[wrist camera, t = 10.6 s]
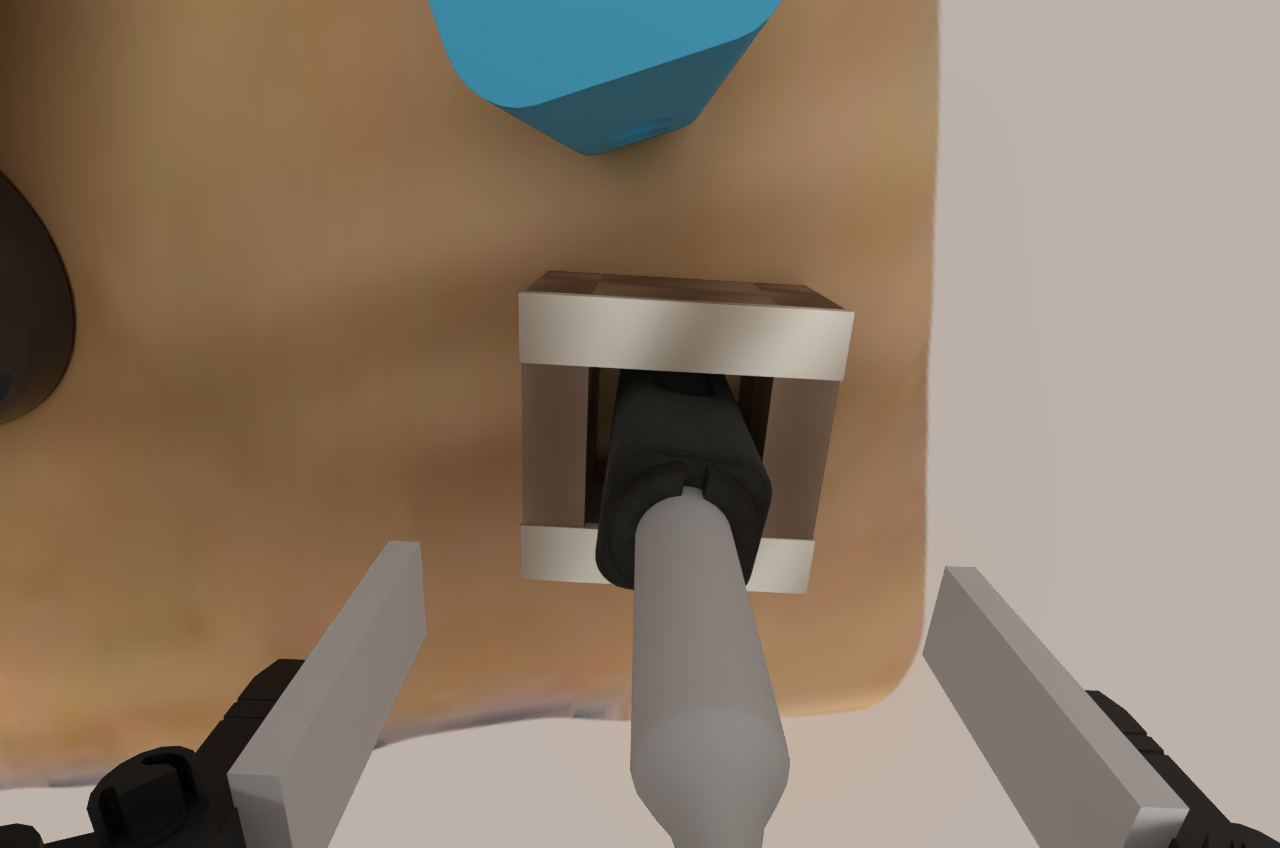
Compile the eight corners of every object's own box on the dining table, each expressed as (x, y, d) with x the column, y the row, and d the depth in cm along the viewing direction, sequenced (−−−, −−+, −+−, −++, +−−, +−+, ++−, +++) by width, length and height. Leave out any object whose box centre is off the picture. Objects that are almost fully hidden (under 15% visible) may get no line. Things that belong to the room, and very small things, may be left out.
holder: (545, 502, 34) (521, 579, 27) (546, 269, 30) (518, 292, 23) (774, 514, 34) (806, 594, 27) (807, 284, 30) (854, 312, 23)
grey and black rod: (728, 360, 31) (991, 886, 8) (707, 455, 33) (868, 1121, 9) (625, 342, 31) (567, 833, 7) (609, 439, 33) (522, 1086, 9)
